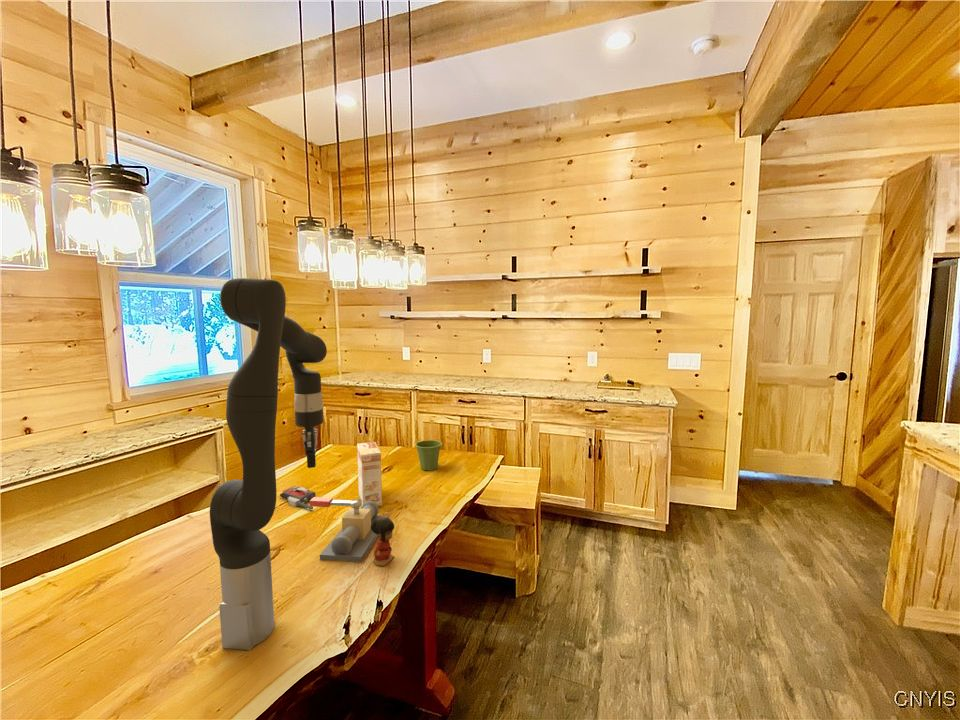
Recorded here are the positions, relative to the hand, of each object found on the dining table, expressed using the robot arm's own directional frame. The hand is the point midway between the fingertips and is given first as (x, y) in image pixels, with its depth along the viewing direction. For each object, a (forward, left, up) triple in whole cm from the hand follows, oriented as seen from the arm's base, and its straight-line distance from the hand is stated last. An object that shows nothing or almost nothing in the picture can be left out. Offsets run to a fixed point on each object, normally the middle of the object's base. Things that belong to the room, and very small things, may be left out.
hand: (311, 466), depth 120 cm
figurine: (-6, -23, -24) cm, 34 cm away
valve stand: (+5, -11, -24) cm, 27 cm away
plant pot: (+65, -20, -24) cm, 72 cm away
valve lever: (+5, -5, -14) cm, 16 cm away
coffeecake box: (+32, -5, -24) cm, 40 cm away
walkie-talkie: (+28, +19, -25) cm, 42 cm away
